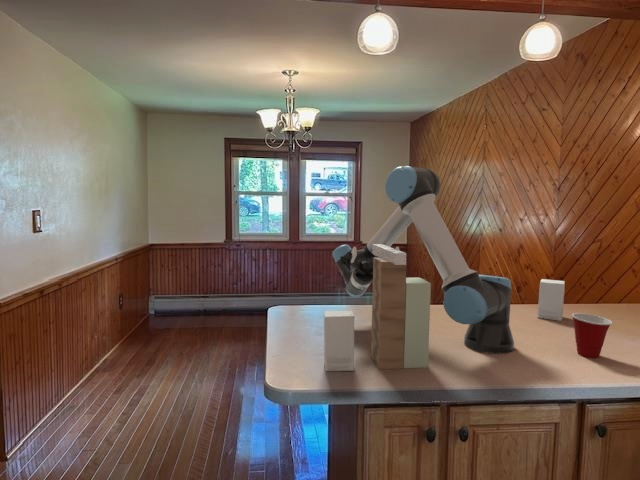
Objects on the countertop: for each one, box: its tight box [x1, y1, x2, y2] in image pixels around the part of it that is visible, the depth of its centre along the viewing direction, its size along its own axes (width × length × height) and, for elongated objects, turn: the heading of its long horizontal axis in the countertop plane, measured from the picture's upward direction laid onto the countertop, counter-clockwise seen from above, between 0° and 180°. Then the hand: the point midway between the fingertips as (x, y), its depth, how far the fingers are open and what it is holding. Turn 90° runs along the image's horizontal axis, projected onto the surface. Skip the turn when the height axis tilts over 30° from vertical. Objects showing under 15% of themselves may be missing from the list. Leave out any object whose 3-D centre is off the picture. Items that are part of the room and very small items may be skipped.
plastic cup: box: [571, 312, 613, 359], centre depth 138 cm, size 11×11×12 cm
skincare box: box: [323, 310, 355, 372], centre depth 125 cm, size 8×7×16 cm
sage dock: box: [402, 277, 432, 369], centre depth 129 cm, size 9×7×24 cm
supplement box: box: [537, 278, 566, 322], centre depth 183 cm, size 9×9×15 cm
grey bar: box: [372, 244, 407, 265], centre depth 129 cm, size 24×3×3 cm, turn 8°
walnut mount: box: [370, 258, 408, 370], centre depth 128 cm, size 9×7×30 cm
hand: (376, 250), depth 139 cm, fingers open, 13 cm apart
